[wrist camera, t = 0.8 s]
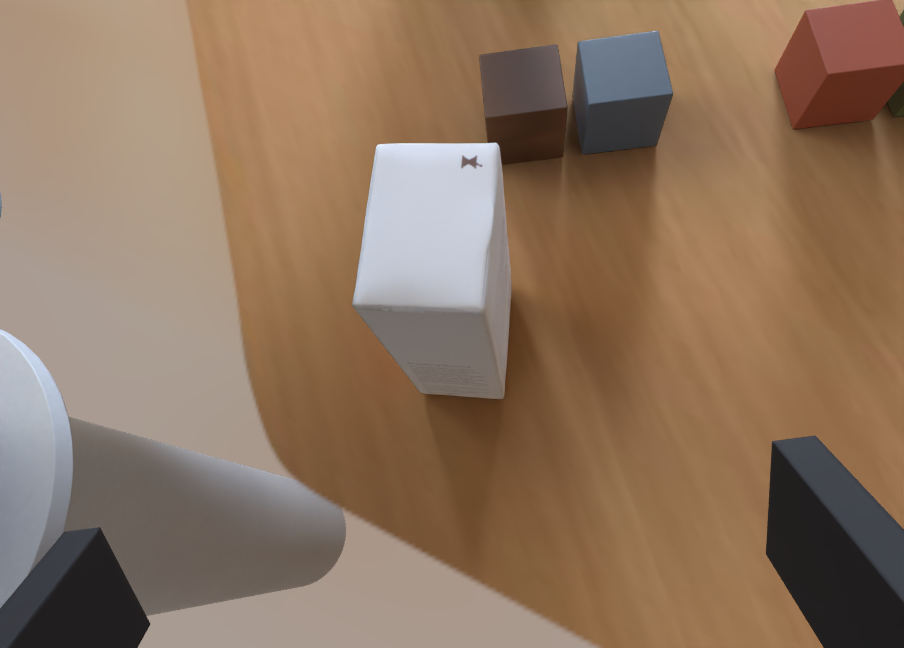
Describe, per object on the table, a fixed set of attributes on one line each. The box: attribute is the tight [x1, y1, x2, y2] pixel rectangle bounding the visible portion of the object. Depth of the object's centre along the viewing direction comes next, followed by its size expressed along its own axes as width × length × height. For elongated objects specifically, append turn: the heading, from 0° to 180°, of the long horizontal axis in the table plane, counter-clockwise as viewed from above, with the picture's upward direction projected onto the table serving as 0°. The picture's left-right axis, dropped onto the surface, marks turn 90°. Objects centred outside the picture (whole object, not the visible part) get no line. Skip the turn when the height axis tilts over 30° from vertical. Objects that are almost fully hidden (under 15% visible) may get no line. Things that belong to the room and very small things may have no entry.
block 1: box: [479, 44, 567, 164], centre depth 32 cm, size 4×4×4 cm
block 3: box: [775, 0, 904, 129], centre depth 30 cm, size 4×4×4 cm
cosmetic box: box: [353, 143, 512, 399], centre depth 24 cm, size 6×4×12 cm
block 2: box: [572, 31, 673, 154], centre depth 31 cm, size 4×4×4 cm
